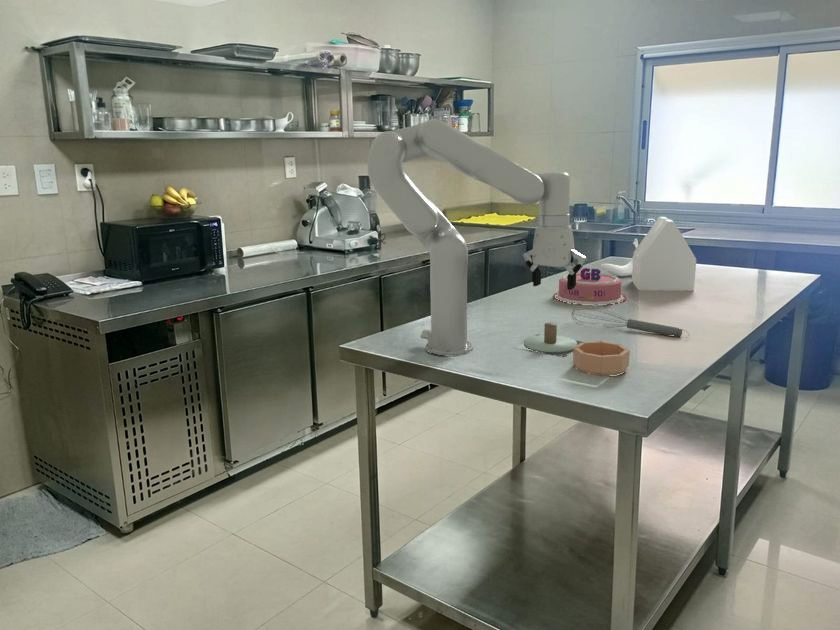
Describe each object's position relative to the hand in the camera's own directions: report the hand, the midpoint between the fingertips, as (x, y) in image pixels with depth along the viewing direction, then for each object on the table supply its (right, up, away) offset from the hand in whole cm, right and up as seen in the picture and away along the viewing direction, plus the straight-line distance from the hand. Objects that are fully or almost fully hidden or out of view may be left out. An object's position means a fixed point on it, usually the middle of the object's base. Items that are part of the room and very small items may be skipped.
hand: (553, 287), depth 174 cm
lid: (0, -15, +4) cm, 16 cm away
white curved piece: (+47, +8, +94) cm, 106 cm away
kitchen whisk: (+25, -12, +19) cm, 33 cm away
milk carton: (+55, +3, +75) cm, 93 cm away
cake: (+24, -2, +59) cm, 64 cm away
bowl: (+8, -20, -14) cm, 26 cm away
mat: (0, -16, +4) cm, 16 cm away
